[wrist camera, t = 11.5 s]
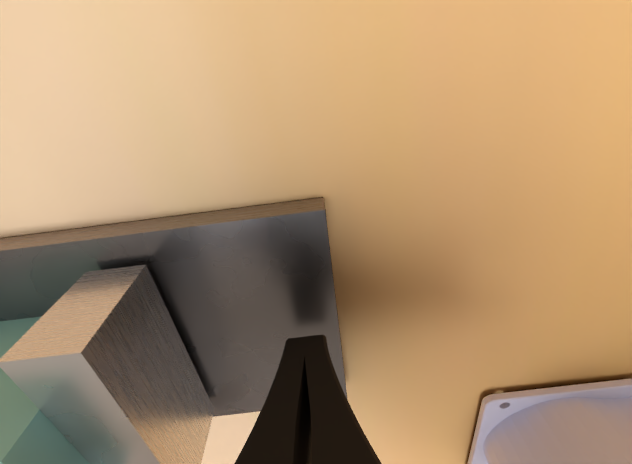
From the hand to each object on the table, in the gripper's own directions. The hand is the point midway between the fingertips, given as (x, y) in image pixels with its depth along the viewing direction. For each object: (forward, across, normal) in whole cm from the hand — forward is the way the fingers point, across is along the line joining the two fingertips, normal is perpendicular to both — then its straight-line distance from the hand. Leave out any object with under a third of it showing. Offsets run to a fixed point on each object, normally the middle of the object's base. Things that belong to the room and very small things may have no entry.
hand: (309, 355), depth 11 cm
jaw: (+1, +6, 0) cm, 6 cm away
